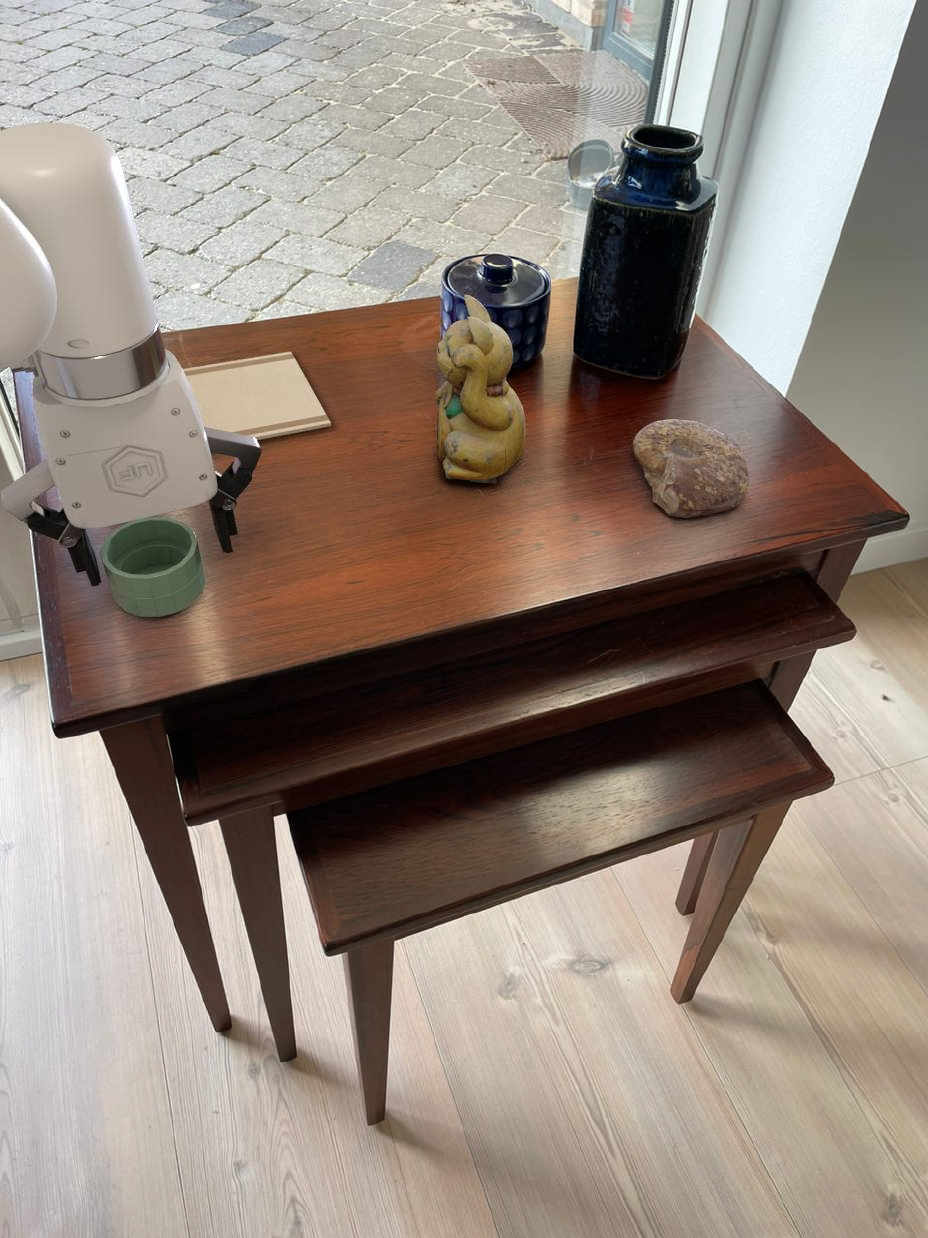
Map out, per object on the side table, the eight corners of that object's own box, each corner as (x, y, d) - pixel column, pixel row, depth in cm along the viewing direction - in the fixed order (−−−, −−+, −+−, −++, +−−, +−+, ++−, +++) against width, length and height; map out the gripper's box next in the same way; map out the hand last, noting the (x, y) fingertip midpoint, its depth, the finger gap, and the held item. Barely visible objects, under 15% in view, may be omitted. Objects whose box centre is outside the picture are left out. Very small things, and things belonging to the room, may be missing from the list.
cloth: (183, 454, 81) (182, 450, 81) (155, 376, 90) (154, 373, 90) (331, 426, 86) (331, 422, 85) (291, 354, 94) (291, 351, 94)
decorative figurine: (428, 433, 86) (432, 282, 75) (513, 431, 87) (529, 281, 76) (439, 496, 79) (445, 340, 68) (530, 493, 80) (551, 339, 69)
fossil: (764, 517, 77) (668, 473, 74) (726, 553, 81) (633, 512, 77) (743, 425, 85) (656, 382, 82) (709, 461, 89) (625, 421, 86)
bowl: (122, 631, 66) (107, 587, 63) (108, 572, 70) (94, 528, 67) (214, 608, 68) (205, 564, 65) (196, 552, 72) (186, 509, 69)
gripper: (-50, 414, 50) (45, 622, 63) (255, 358, 55) (286, 561, 68) (-55, 348, 55) (34, 554, 67) (227, 301, 60) (261, 501, 72)
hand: (160, 557), depth 67 cm, fingers open, 9 cm apart
